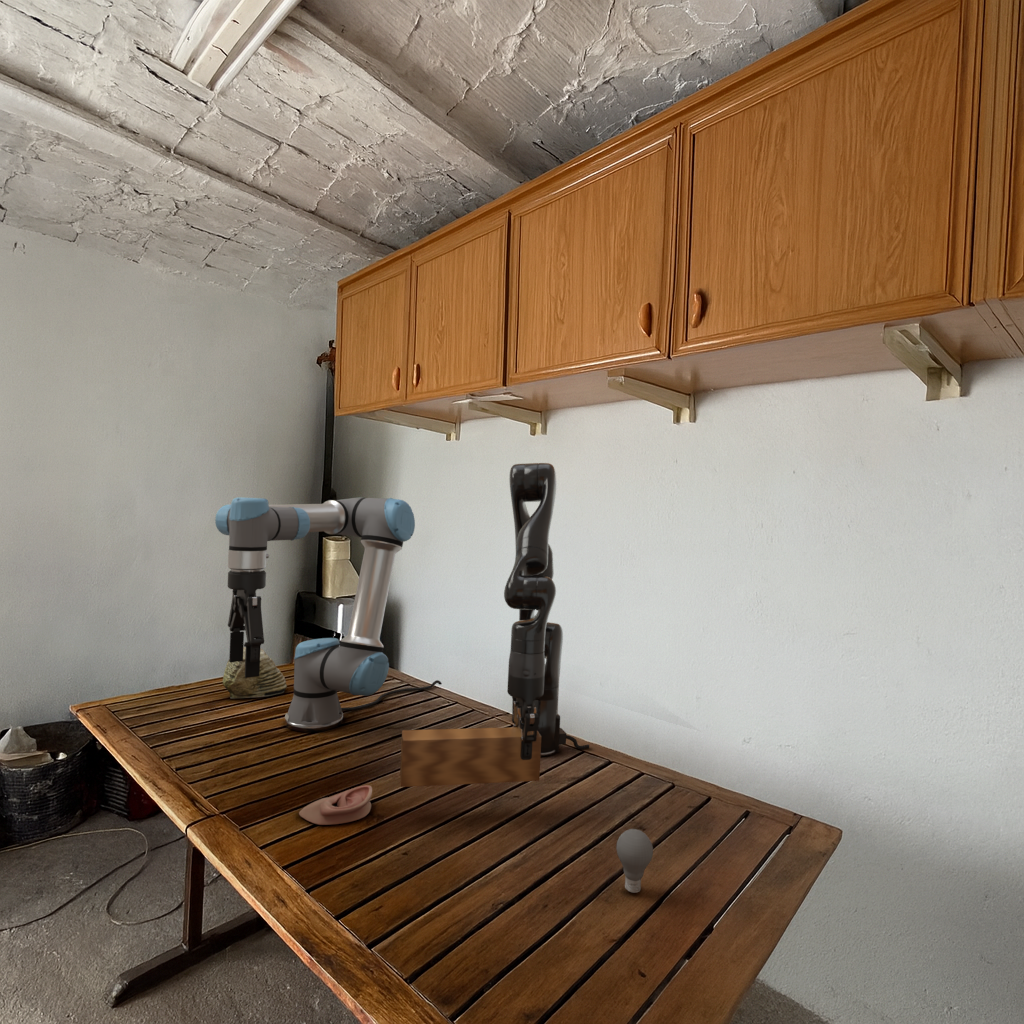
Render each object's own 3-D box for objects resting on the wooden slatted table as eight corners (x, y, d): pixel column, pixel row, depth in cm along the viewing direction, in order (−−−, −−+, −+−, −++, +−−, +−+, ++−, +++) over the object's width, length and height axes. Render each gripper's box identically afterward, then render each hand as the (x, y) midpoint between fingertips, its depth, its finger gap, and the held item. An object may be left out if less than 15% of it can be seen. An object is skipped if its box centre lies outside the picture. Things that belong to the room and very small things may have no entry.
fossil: (218, 695, 195) (220, 647, 195) (278, 685, 208) (279, 640, 207) (228, 703, 189) (230, 653, 188) (289, 692, 201) (290, 645, 201)
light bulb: (610, 879, 108) (613, 822, 108) (644, 879, 109) (647, 822, 109) (619, 902, 102) (622, 840, 102) (655, 901, 103) (658, 840, 103)
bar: (400, 787, 123) (402, 740, 123) (400, 774, 129) (402, 730, 129) (539, 780, 129) (541, 736, 129) (532, 769, 135) (534, 726, 134)
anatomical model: (291, 800, 123) (320, 775, 134) (290, 820, 123) (320, 794, 134) (354, 810, 120) (379, 784, 132) (353, 830, 121) (378, 803, 132)
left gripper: (282, 576, 127) (278, 681, 128) (250, 563, 147) (247, 653, 148) (243, 577, 123) (239, 686, 123) (215, 564, 143) (212, 657, 143)
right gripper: (553, 681, 125) (549, 766, 125) (535, 662, 139) (532, 739, 139) (515, 682, 123) (511, 768, 123) (502, 663, 137) (498, 740, 137)
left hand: (243, 668), depth 136 cm, fingers open, 13 cm apart
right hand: (522, 752), depth 131 cm, fingers closed on bar, 5 cm apart
